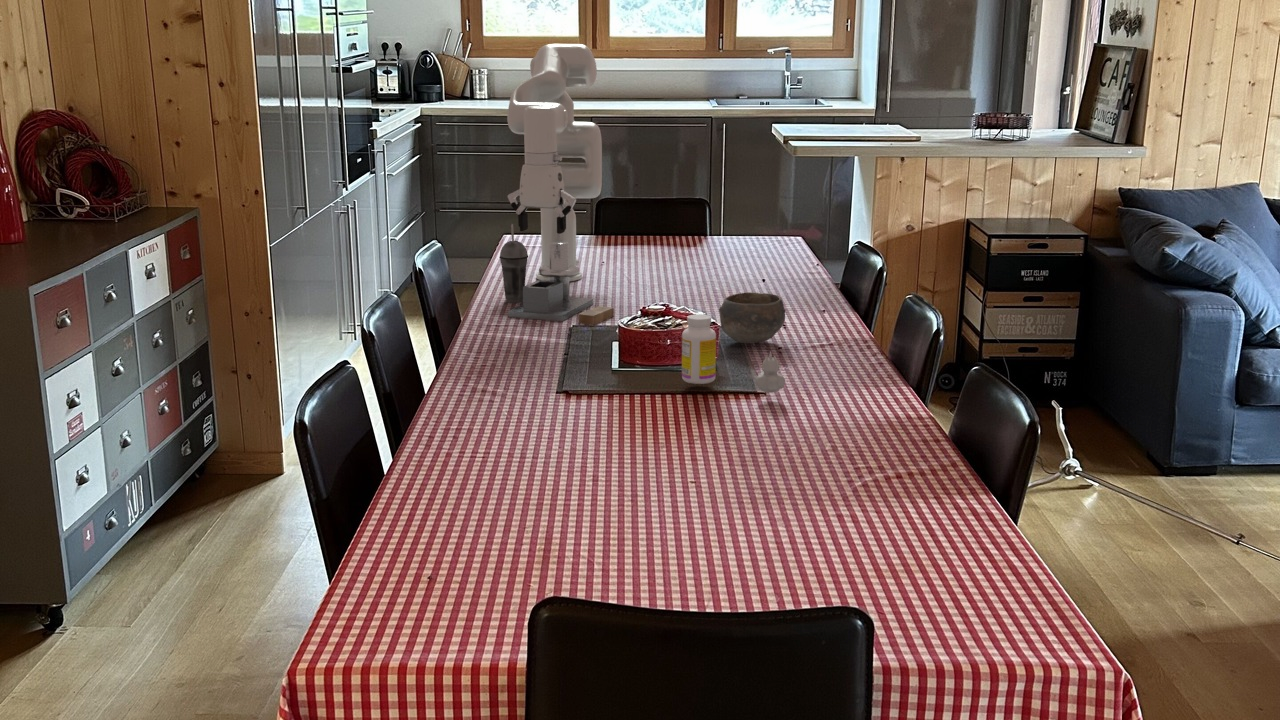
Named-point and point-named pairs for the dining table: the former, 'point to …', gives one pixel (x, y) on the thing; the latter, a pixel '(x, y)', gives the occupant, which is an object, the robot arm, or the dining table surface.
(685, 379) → the supplement bottle
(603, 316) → the brown wooden block
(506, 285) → the beverage cup
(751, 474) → the dining table surface
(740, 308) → the bowl
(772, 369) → the gourd
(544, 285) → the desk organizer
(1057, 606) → the dining table surface
